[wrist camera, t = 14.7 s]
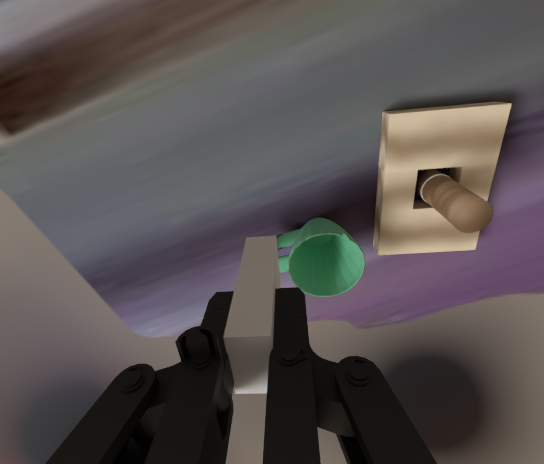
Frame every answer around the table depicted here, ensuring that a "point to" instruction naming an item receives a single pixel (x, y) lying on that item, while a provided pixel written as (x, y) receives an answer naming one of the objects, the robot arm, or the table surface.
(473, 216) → the peg
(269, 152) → the table surface
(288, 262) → the mug
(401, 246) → the board
